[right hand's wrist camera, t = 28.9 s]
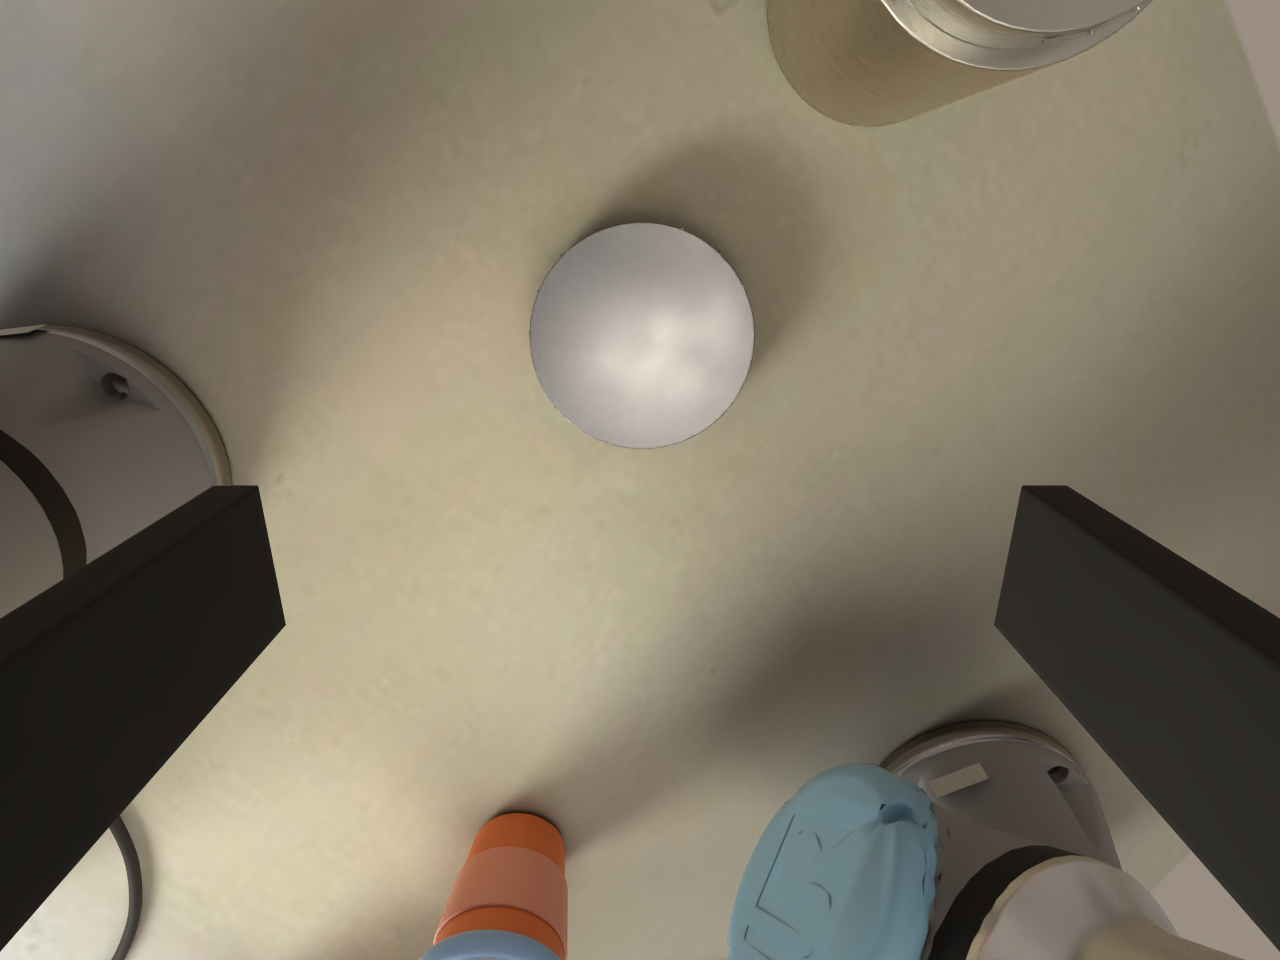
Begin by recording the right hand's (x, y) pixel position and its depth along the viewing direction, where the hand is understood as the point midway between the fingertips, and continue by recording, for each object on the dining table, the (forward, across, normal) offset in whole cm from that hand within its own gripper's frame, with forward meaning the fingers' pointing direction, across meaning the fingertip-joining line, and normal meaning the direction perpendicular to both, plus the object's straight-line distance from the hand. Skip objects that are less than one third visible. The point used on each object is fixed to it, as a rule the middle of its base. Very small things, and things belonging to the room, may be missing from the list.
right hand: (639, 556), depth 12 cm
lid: (+24, 0, 0) cm, 24 cm away
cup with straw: (+26, -8, -35) cm, 44 cm away
